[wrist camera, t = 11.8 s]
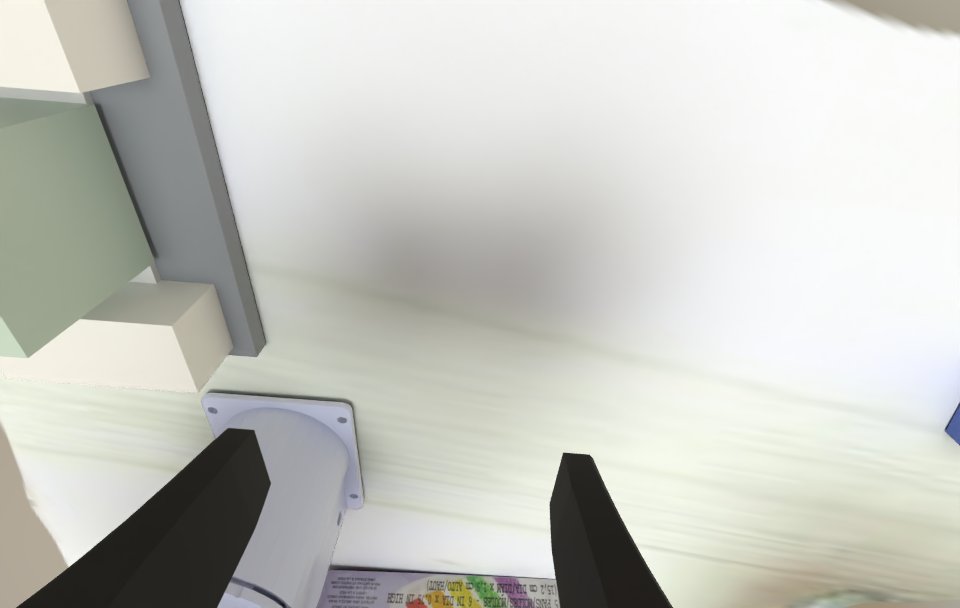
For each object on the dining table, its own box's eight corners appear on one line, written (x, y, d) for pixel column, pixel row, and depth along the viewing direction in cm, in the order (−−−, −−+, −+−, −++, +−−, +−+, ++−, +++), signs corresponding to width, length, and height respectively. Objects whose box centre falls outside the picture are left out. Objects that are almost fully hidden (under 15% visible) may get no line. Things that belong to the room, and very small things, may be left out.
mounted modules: (233, 347, 21) (198, 393, 19) (63, 334, 21) (5, 378, 19) (115, -36, 13) (26, -45, 11) (-161, -59, 13) (-315, -73, 11)
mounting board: (265, 343, 22) (254, 361, 21) (63, 328, 22) (41, 345, 21) (170, -32, 14) (143, -35, 13) (-154, -58, 14) (-209, -63, 13)
